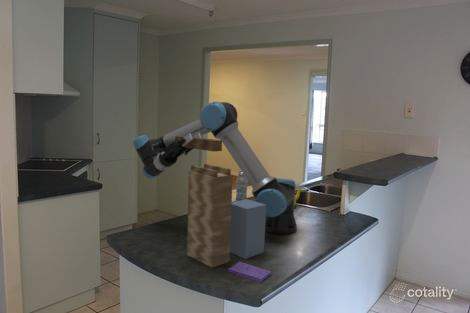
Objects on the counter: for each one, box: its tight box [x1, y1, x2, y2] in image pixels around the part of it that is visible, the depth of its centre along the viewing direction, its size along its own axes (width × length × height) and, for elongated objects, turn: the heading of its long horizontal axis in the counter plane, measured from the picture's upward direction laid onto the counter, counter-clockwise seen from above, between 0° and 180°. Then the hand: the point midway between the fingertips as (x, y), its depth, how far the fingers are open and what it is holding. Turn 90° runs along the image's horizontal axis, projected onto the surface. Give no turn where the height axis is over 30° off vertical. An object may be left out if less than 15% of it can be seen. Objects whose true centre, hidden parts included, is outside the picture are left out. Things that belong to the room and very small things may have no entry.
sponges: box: [228, 261, 272, 283], centre depth 126 cm, size 7×13×2 cm, turn 56°
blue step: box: [230, 198, 266, 260], centre depth 143 cm, size 10×10×18 cm
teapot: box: [294, 186, 304, 206], centre depth 209 cm, size 14×14×12 cm
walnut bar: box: [175, 136, 223, 152], centre depth 152 cm, size 24×4×4 cm, turn 45°
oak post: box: [186, 163, 234, 269], centre depth 134 cm, size 14×8×33 cm, turn 44°
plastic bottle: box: [234, 170, 249, 202], centre depth 202 cm, size 6×7×20 cm
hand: (195, 136), depth 153 cm, fingers closed on walnut bar, 4 cm apart
